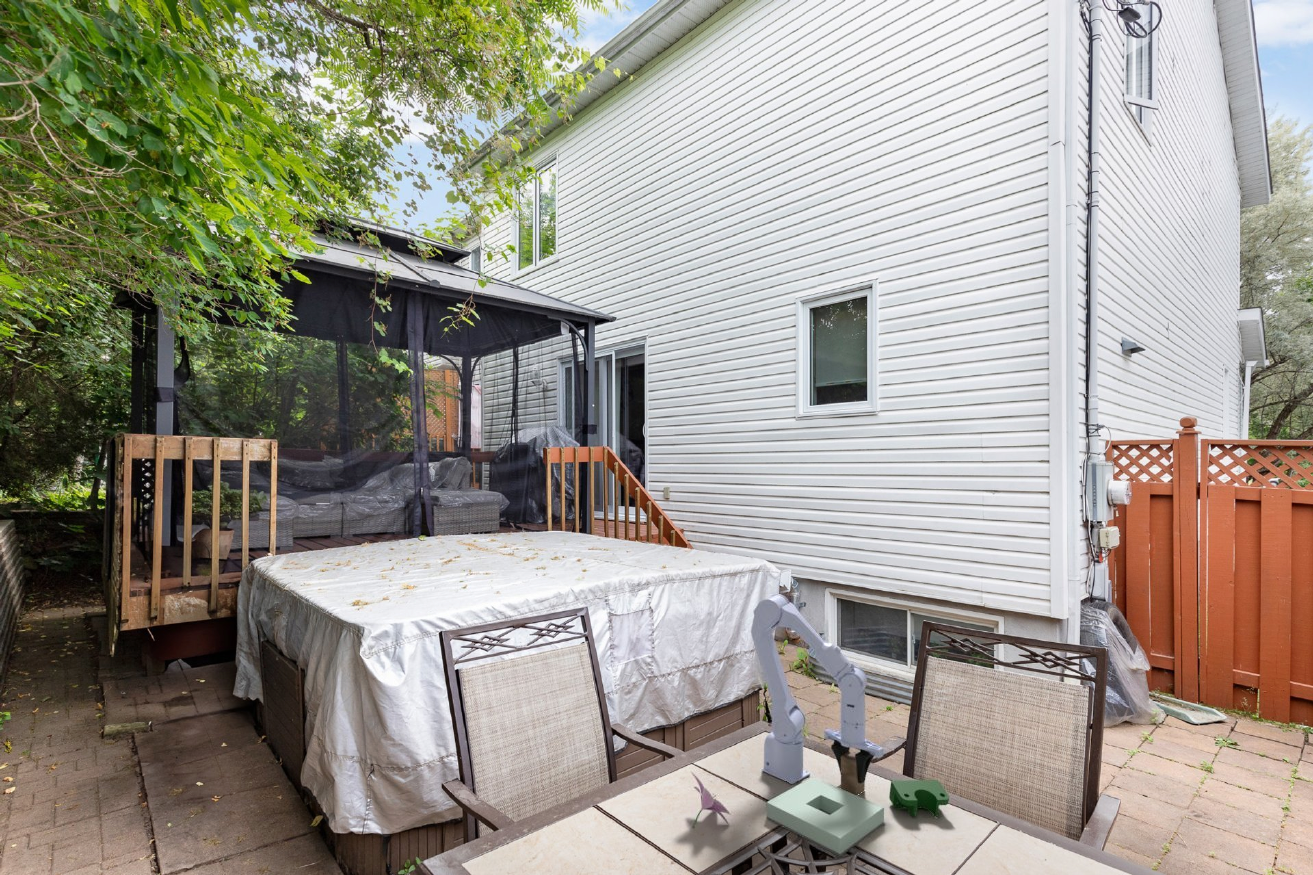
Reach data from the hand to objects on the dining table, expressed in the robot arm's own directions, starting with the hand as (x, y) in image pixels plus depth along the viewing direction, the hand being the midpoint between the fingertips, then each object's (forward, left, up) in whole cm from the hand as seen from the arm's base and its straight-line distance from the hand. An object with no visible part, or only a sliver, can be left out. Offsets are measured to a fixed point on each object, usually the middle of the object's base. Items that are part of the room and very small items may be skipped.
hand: (852, 778), depth 149 cm
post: (0, 0, -3) cm, 3 cm away
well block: (+3, -17, -3) cm, 18 cm away
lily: (-13, -37, -3) cm, 39 cm away
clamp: (+15, +3, -3) cm, 15 cm away
